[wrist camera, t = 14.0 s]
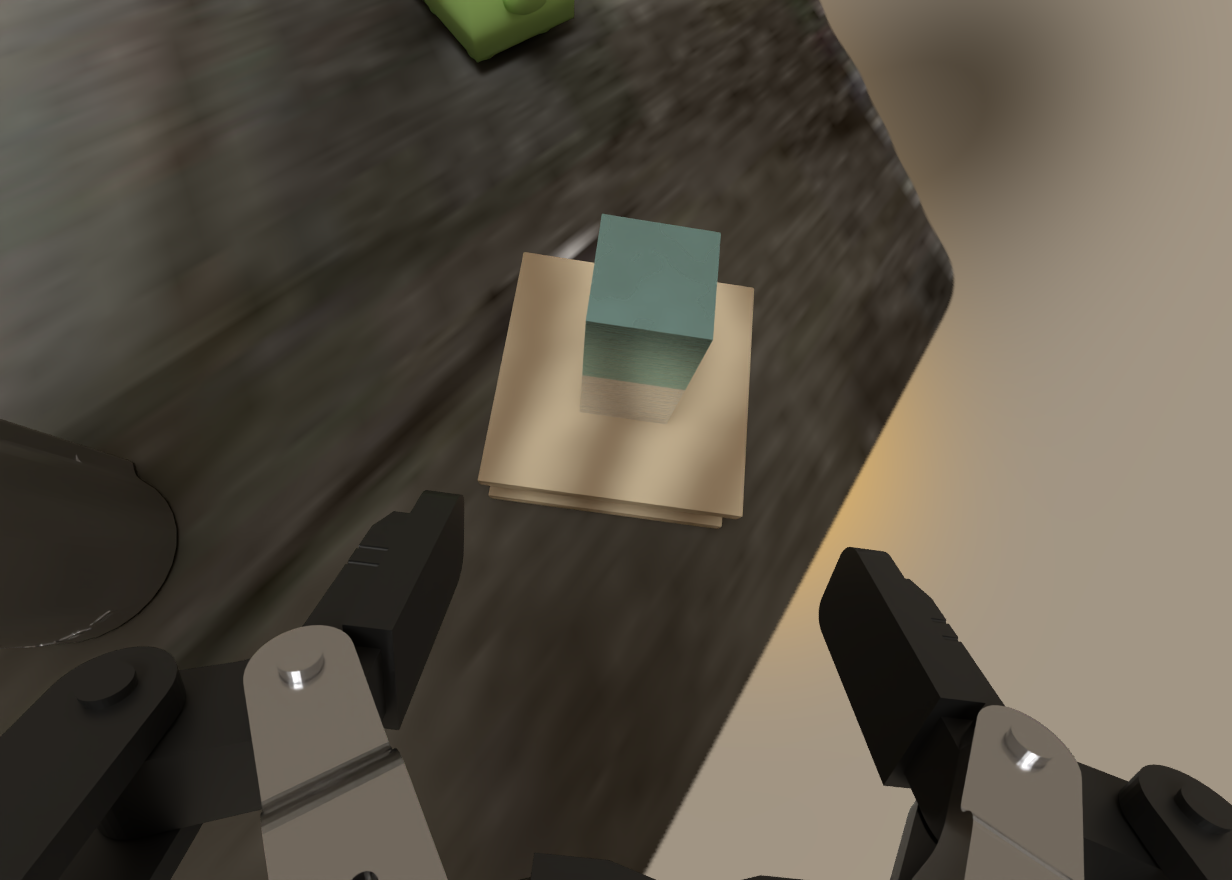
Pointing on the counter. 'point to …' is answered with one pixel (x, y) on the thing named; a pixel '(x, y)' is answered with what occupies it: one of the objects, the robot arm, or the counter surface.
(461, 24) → the kettle
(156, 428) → the counter surface
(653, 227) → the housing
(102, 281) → the counter surface
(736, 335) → the stand
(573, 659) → the counter surface
